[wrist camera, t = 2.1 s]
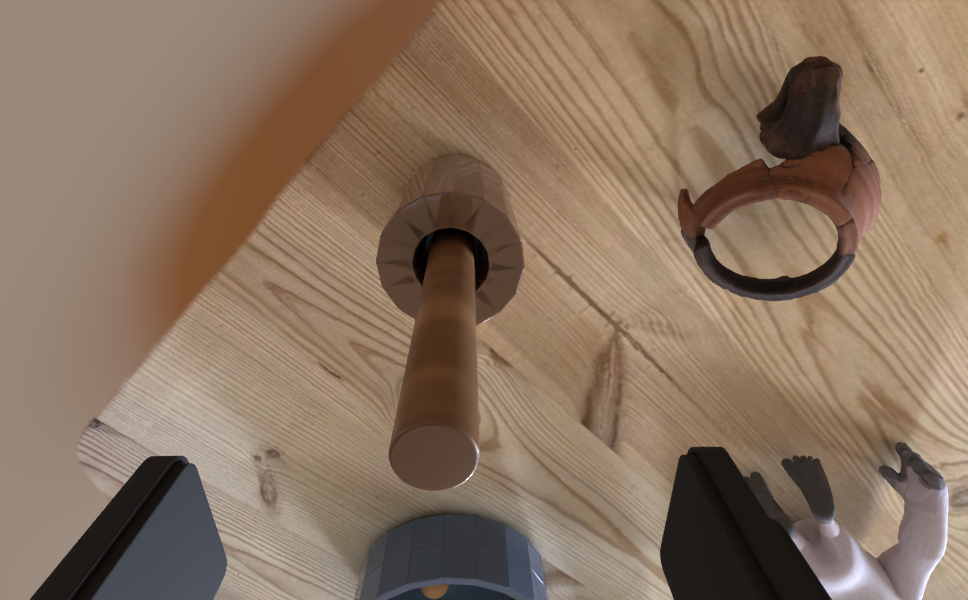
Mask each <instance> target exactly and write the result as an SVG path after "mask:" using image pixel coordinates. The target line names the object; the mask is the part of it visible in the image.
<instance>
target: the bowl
mask: <svg viewBox="0 0 968 600" xmlns="http://www.w3.org/2000/svg"><path fill="white" fill-rule="evenodd" d="M439 584H449V587H448V589H447V591H446V593H445V594H444V595H443V596H442V597H440V598H437V599H430V598H428V597H426V596H425V595H424V594H423V593H422V591H421V588H422V587H428V586H434V585H439ZM354 600H549V597H548V590H547V583H546V577H545V571H544V568H543V564H542V560H541V556H540V554H539V553H538V552H537V550H536V549H535V548H534V547H533V545H532V544H531V543H530V542H529V540H528V539H527V538H526V537H524V536H523V535H521V534H520V533H518V532H516V531H515V530H513V529H511V528H510V527H508V526H507V525H505V524H503V523H500V522H496V521H493V520H490V519H486V518H483V517H479V516H474V515H453V514H442V515H436V516H431V517H425V518H420V519H415V520H413V521H410V522H408V523H406V524H404V525H402V526H399V527H397V528H395V529H393V530H391V531H388V532H387V533H386V534H385V535H384V536H383V537H382V538H381V539H379V540H378V541H377V542H376V543H375V544H374V545H373V546H372V547H371V548H370V549H369V551H368V553H367V556H366V558H365V560H364V562H363V564H362V566H361V570H360V575H359V579H358V584H357V589H356V593H355V598H354Z"/></svg>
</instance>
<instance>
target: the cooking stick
mask: <svg viewBox="0 0 968 600" xmlns="http://www.w3.org/2000/svg"><path fill="white" fill-rule="evenodd" d="M479 456H480V453H479V416H478V378H477V341H476V303H475V266H474V236H473V235H472V234H470V233H469V232H467V231H464V230H460V229H456V228H445V229H438V230H436V231H434V232H433V237H432V242H431V246H430V251H429V256H428V261H427V266H426V271H425V276H424V281H423V286H422V290H421V295H420V300H419V305H418V310H417V315H416V320H415V325H414V330H413V334H412V339H411V344H410V349H409V354H408V359H407V364H406V369H405V374H404V379H403V383H402V388H401V393H400V398H399V403H398V408H397V413H396V418H395V423H394V427H393V432H392V437H391V442H390V447H389V461H390V464H391V467H392V469H393V471H394V472H395V474H396V475H397V476H398V477H399V478H400V479H401V480H402V481H404V482H405V483H407V484H408V485H410V486H412V487H415V488H418V489H421V490H427V491H443V490H448V489H452V488H454V487H457V486H459V485H461V484H463V483H464V482H465V481H467V480H468V479H469V478H470V477H471V476H472V475H473V473H474V471H475V470H476V468H477V466H478V463H479Z"/></svg>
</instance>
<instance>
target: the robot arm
mask: <svg viewBox="0 0 968 600" xmlns="http://www.w3.org/2000/svg"><path fill="white" fill-rule="evenodd" d="M660 557H661V564H662V568H663V571H664V574H665V577H666V579H667V582H668V585H669V587H670V590H671V593H672V596H673V598H674V600H832V599H831V597H830V596H829V594H828V593H827V591H826V590H825V588H824V587H823V585H822V584H821V582H820V581H819V579H818V578H817V576H816V575H815V573H814V572H813V570H812V569H811V567H810V565H809V564H808V562H807V561H806V559H805V558H804V556H803V555H802V553H801V552H800V550H799V549H798V547H797V546H796V544H795V543H794V541H793V540H792V538H791V537H790V535H789V534H788V532H787V531H786V529H785V528H784V527H783V526H782V525H781V523H779V522H778V521H777V520H775V519H773V518H769V516H768V515H767V513H766V512H765V510H764V509H763V507H762V505H761V504H760V502H759V501H758V499H757V498H756V496H755V495H754V493H753V491H752V490H751V488H750V487H749V485H748V484H747V482H746V481H745V479H744V477H743V476H742V474H741V473H740V471H739V470H738V468H737V466H736V465H735V463H734V462H733V460H732V459H731V457H730V456H729V454H728V452H727V451H726V450H725V449H724V448H722V447H691V448H690V449H689V450H688V453H687V455H681V456H680V458H679V462H678V466H677V471H676V476H675V481H674V486H673V491H672V495H671V500H670V505H669V510H668V515H667V520H666V524H665V529H664V534H663V539H662V544H661V549H660ZM226 566H227V559H226V555H225V552H224V549H223V546H222V543H221V540H220V537H219V534H218V531H217V528H216V525H215V522H214V519H213V516H212V513H211V510H210V507H209V504H208V501H207V498H206V495H205V492H204V489H203V486H202V483H201V480H200V477H199V474H198V471H197V468H196V466H195V465H194V464H190V463H189V462H188V460H187V458H185V457H184V456H151V457H149V458H147V459H146V460H145V461H144V462H143V463H142V464H141V465H140V466H139V468H138V469H137V470H136V471H135V472H134V474H133V475H132V476H131V477H130V479H129V480H128V481H127V482H126V483H125V485H124V486H123V487H122V488H121V489H120V491H119V492H118V493H117V494H116V496H115V497H114V498H113V499H112V500H111V502H110V503H109V504H108V505H107V506H106V508H105V509H104V510H103V511H102V512H101V514H100V515H99V516H98V517H97V519H96V520H95V521H94V522H93V524H92V525H91V526H90V527H89V528H88V529H87V531H86V532H85V533H84V534H83V536H82V537H81V538H80V539H79V540H78V542H77V543H76V544H75V545H74V546H73V548H72V549H71V550H70V552H69V553H68V554H67V555H66V556H65V558H64V559H63V560H62V561H61V562H60V563H59V565H58V566H57V567H56V568H55V570H54V571H53V572H52V573H51V575H50V576H49V577H48V578H47V579H46V581H45V582H44V583H43V584H42V585H41V587H40V588H39V589H38V590H37V591H36V593H35V594H34V595H33V596H32V597H31V599H30V600H213V599H214V597H215V595H216V593H217V591H218V588H219V586H220V584H221V582H222V580H223V578H224V575H225V572H226Z"/></svg>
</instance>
